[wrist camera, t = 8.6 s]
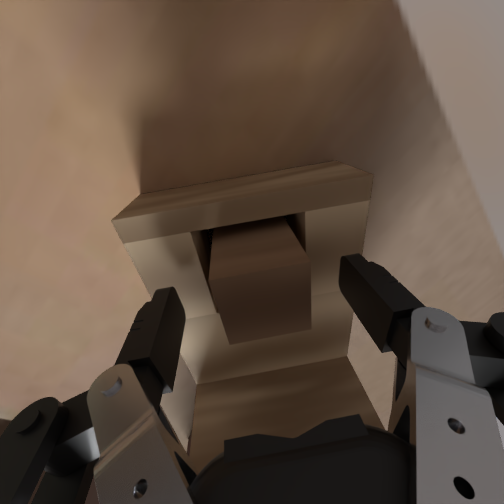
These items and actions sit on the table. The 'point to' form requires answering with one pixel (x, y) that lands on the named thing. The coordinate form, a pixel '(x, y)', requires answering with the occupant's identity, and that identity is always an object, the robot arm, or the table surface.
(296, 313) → the peg
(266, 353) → the socket stand
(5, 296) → the table surface
